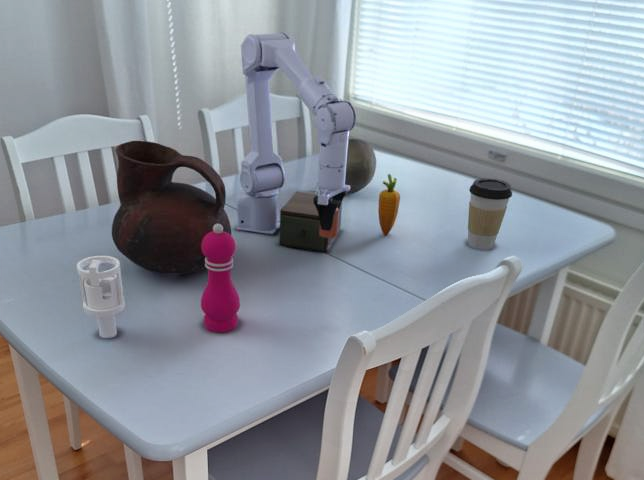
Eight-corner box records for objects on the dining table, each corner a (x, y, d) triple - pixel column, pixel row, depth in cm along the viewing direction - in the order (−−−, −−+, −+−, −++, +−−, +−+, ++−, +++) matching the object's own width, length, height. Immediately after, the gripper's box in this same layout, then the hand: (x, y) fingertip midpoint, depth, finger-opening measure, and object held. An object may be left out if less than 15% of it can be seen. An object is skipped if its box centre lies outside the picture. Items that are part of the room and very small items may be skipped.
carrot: (394, 240, 163) (401, 180, 155) (374, 238, 164) (380, 177, 155) (396, 233, 167) (403, 173, 159) (376, 230, 168) (382, 171, 159)
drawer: (322, 252, 153) (323, 224, 149) (278, 245, 155) (279, 217, 152) (335, 230, 164) (337, 204, 161) (295, 224, 166) (296, 198, 163)
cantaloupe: (315, 194, 189) (317, 140, 180) (341, 181, 198) (345, 130, 190) (358, 205, 182) (362, 150, 174) (383, 192, 192) (389, 139, 184)
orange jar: (317, 236, 145) (318, 204, 141) (321, 229, 149) (323, 198, 145) (334, 239, 145) (337, 207, 141) (339, 232, 148) (341, 201, 144)
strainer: (83, 343, 119) (70, 266, 110) (93, 323, 124) (82, 248, 116) (123, 344, 119) (113, 267, 110) (131, 324, 125) (123, 250, 116)
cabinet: (326, 252, 156) (329, 217, 151) (279, 245, 158) (280, 210, 153) (340, 231, 167) (342, 197, 162) (295, 224, 169) (296, 191, 164)
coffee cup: (504, 241, 165) (517, 181, 157) (496, 255, 158) (509, 194, 149) (465, 233, 168) (475, 174, 160) (455, 247, 161) (466, 186, 153)
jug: (200, 300, 134) (193, 177, 120) (93, 276, 140) (75, 157, 127) (251, 253, 153) (250, 142, 140) (155, 234, 160) (145, 127, 146)
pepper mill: (202, 315, 129) (197, 216, 118) (240, 314, 129) (238, 216, 118) (200, 334, 123) (195, 232, 112) (240, 334, 123) (238, 232, 112)
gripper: (343, 176, 131) (338, 241, 139) (358, 156, 143) (353, 216, 151) (309, 172, 133) (306, 236, 140) (326, 152, 145) (323, 212, 152)
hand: (328, 225), depth 145 cm, fingers closed on orange jar, 4 cm apart
